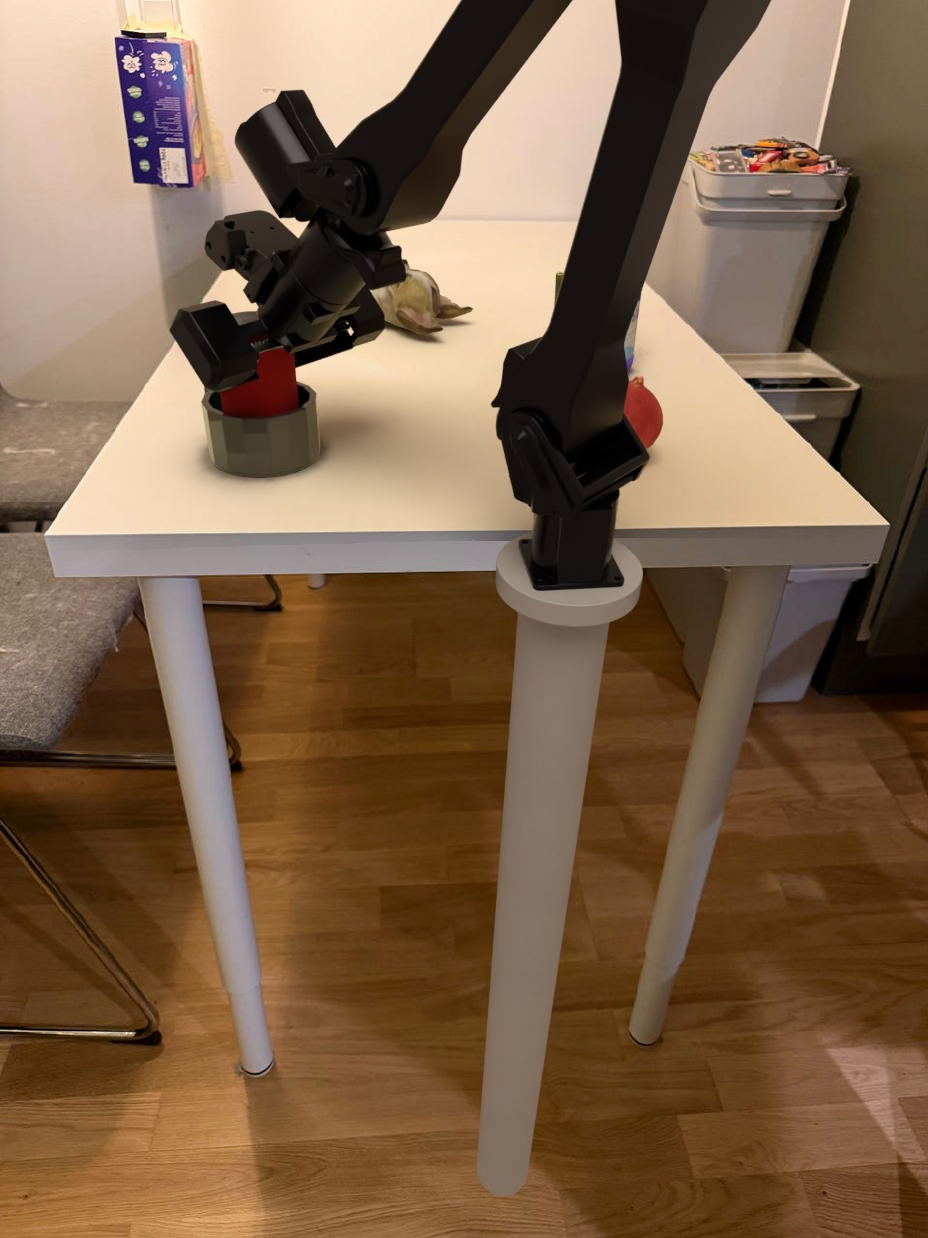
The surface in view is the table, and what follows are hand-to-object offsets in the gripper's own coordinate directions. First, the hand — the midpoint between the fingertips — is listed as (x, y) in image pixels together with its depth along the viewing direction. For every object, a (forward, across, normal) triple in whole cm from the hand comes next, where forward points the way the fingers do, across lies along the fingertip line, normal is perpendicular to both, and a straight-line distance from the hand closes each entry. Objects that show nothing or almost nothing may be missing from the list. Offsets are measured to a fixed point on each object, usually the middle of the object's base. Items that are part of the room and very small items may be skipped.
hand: (248, 377), depth 79 cm
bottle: (-4, -41, +14) cm, 44 cm away
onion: (-14, -22, +24) cm, 35 cm away
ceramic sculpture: (+16, -38, -6) cm, 41 cm away
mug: (+5, 0, +5) cm, 7 cm away
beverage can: (+4, 0, +6) cm, 7 cm away
